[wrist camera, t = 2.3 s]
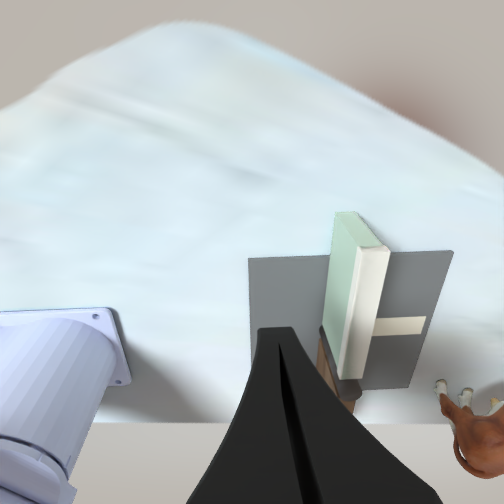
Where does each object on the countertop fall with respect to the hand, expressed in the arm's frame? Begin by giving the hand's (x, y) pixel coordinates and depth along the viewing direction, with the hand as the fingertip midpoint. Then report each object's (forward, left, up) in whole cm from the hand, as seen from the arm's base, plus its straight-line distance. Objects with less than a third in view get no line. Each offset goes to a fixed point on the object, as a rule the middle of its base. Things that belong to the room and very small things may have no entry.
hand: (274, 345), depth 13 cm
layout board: (+6, -9, -9) cm, 14 cm away
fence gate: (+5, -3, -9) cm, 11 cm away
